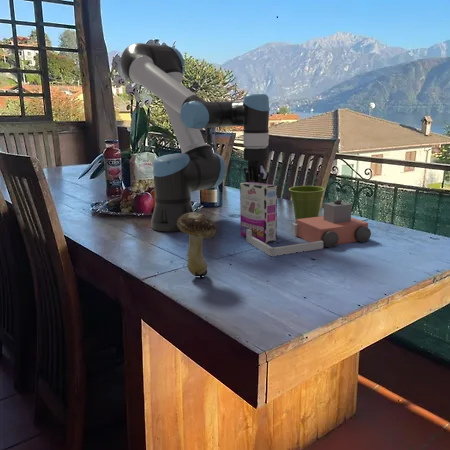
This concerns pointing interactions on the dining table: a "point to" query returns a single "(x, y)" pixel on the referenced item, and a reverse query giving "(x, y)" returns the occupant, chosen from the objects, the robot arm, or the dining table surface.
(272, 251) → the toy tractor
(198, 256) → the mushroom
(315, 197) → the plant pot
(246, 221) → the candy bar box
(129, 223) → the dining table surface
